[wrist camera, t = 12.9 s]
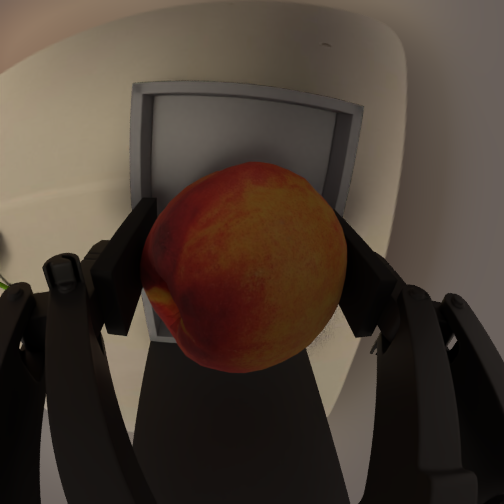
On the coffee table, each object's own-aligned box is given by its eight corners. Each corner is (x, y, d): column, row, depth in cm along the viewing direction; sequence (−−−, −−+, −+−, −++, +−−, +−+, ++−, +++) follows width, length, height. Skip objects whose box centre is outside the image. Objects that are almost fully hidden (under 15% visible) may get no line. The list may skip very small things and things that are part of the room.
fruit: (187, 125, 11) (131, 153, 4) (340, 181, 13) (436, 264, 6) (150, 264, 15) (110, 383, 8) (280, 297, 17) (310, 412, 10)
